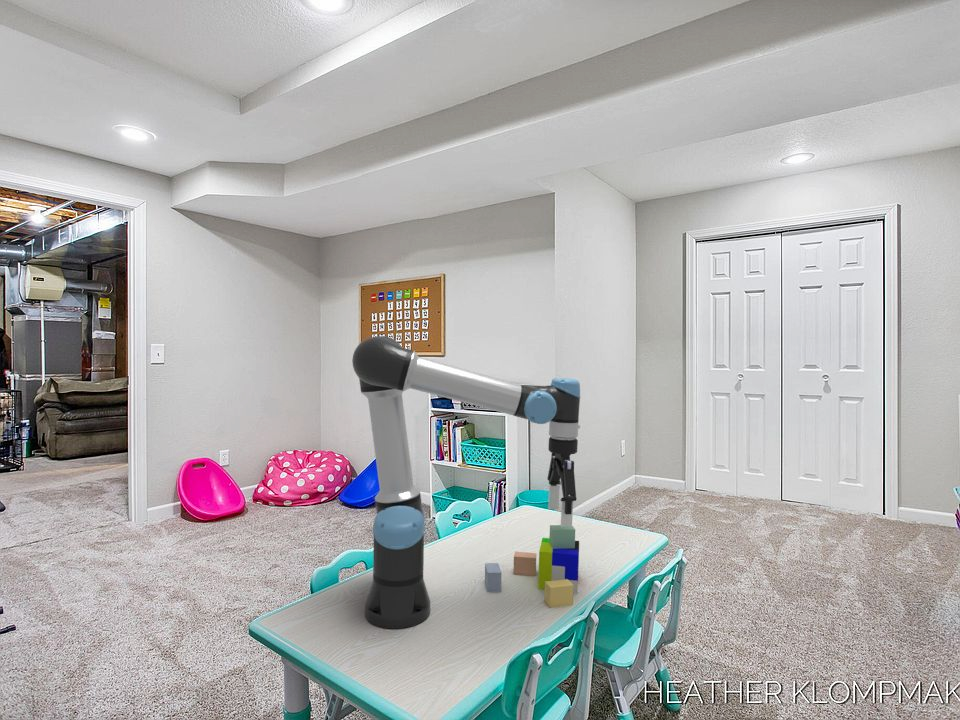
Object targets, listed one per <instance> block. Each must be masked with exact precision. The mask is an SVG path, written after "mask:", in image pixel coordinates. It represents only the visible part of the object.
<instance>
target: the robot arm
mask: <svg viewBox="0 0 960 720" xmlns="http://www.w3.org/2000/svg"><path fill="white" fill-rule="evenodd" d="M352 367H353V370H354V373H355V375H356V376H357V378H358V380H359V386H360V387H359V388H360V393H361V394H362V395H363V396H364V397H365V398H367V401H368V408H369V416H370V424H371V426H370V427H371V432H372V441H373V447H374V455H375V456H374V457H375V462H376V463H375V464H376V471H377V479H378V486H379V487H378V488H379V491H378V493H377V494H376V495H375V496H374V504H375V510H376V515H375V517H374V520H373V526H372V535H373V553H372V554H373V555H372V556H373V557H372V559H373V561H372V563H373V565H372V566H373V567H372V573H373V574H372V582H371V586H370V589H369V591H368V595H367V598H366V601H365V603H364V604H365V605H364V616H365V619H366V620H367V621H368V623H370V624H371V625H373V626H376V627H379V628H383V629H404V628H410V627H413V626H416V625H418V624H420V623H422V622H424V621H425V620H427V618H429V616H430V614H431V600H430V595H429V592H428V588H427V587H426V583H425V580H424V561H425V559H424V558H425V557H424V555H425V554H424V553H425V552H424V551H425V549H424V548H425V545H424V544H425V531H426V524H425V523H426V522H425V520H426V518H425V515H426V514H425V511H424V509H423V504H422V496H421V491H420V489H419V488H418V487H416V485H414V481H413V480H414V479H413V472H412V463H411V456H410V455H411V454H410V448H409V439H408V433H407V425H406V417H405V409H404V408H405V407H404V400H403V393H404V392H405V391H407V390H409V389H412V390H415V391H419V392H423V393H427V394H431V395H433V396H434V395H435V396H439V397H441V398H446V399H449V400H454V401H456V402H460V403H465V404H469V405H471V406H472V405H473V406H476V407H479V408H483V409H488V410H491V411H496V412H499V413H503V414H507V415H510V416H513V417H517V418H521V419H524V420H527V421H529V422H531V423H533V424H537V425H544V424H547V423H549V429H548V435H549V436H550V437H549V438H548V451H549V452H550V453H551V458H550V463H549V468H548V472H547V473H548V475H547V480H548V485H549V486H548V488H549V489H548V504H547V505H548V507H547V509H548V510H559V507H560V506H559V505H560V501H561V513H560V525H561V526H573V513H574V512H573V511H574V502H576V501H577V491H576V479H575V461H574V460H571V457H570V456H571V455H575V454H577V452H578V446H579V445H578V444H579V443H578V441H579V440H578V439H577V437H578V435H579V429H580V428H581V425H580V424H579V420H580V419H579V418H580V417H579V415H580V404H581V383H580V381H579V380H577V379H575V378H567V377H566V378H564V377H560V378H557V377H555V378H553V379H551V383H550V384H549V385H533V384H532V385H531V384H519V383H515V382H512V381H508V380H504V379H500V378H498V377H493V376H491V375H487V374H482V373H479V372H475V371H471V370H468V369H465V368H461V367H458V366H454V365H451V364H447V363H443V362H440V361H436V360H433V359H432V360H431V359H428V358H424V357H421V356H418V354H417V352H416V351H415V350H411V349H408V348H405V347H402V346H401V345H400V343H398V342H397V341H396V340H395V339H393V338H391V337H389V336H385V335H383V336H381V335H380V336H378V335H377V336H372V337H368V338H366V339H364V340H363V341H361V342H359V344H358V345H357V346H356V348H355V349H354V352H353V354H352ZM560 485H561V486H560ZM560 487H561V492H562V497H561V498H560Z"/></svg>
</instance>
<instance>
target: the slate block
mask: <svg viewBox="0 0 960 720" xmlns="http://www.w3.org/2000/svg"><path fill="white" fill-rule="evenodd" d="M484 584H485V587H486V591H487V592H486V593H494V592H497V593H498V592H502V570H501V567H500V564H499V562H485V563H484Z"/></svg>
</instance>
